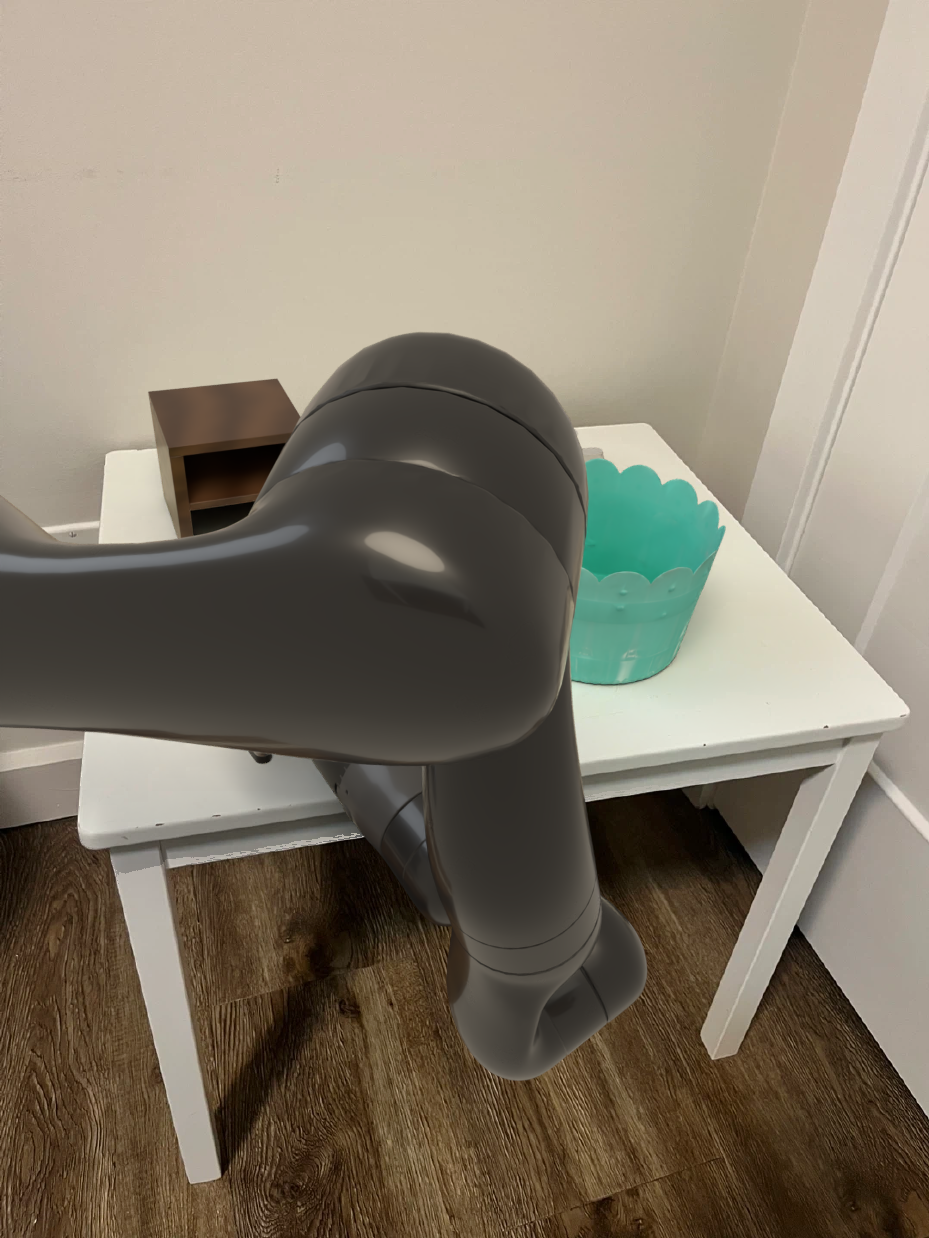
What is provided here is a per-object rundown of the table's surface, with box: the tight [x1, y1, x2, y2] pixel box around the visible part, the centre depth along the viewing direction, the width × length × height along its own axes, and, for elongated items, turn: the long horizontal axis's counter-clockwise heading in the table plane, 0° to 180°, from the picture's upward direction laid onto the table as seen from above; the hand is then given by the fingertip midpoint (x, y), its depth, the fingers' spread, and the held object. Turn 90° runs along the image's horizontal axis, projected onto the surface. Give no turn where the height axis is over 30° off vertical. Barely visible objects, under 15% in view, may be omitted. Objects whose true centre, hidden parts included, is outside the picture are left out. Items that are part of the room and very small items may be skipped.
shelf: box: [147, 378, 301, 539], centre depth 92 cm, size 13×12×12 cm
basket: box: [570, 458, 726, 685], centre depth 82 cm, size 19×18×13 cm
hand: (287, 632), depth 69 cm, fingers open, 8 cm apart
